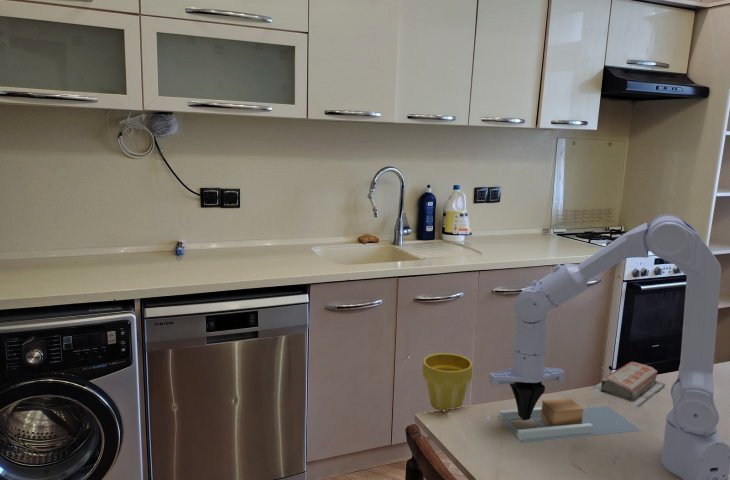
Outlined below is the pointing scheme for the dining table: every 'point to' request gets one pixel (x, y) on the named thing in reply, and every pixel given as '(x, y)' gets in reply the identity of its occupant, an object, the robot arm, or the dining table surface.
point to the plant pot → (447, 379)
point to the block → (561, 412)
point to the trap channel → (592, 424)
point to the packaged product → (631, 383)
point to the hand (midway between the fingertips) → (523, 417)
